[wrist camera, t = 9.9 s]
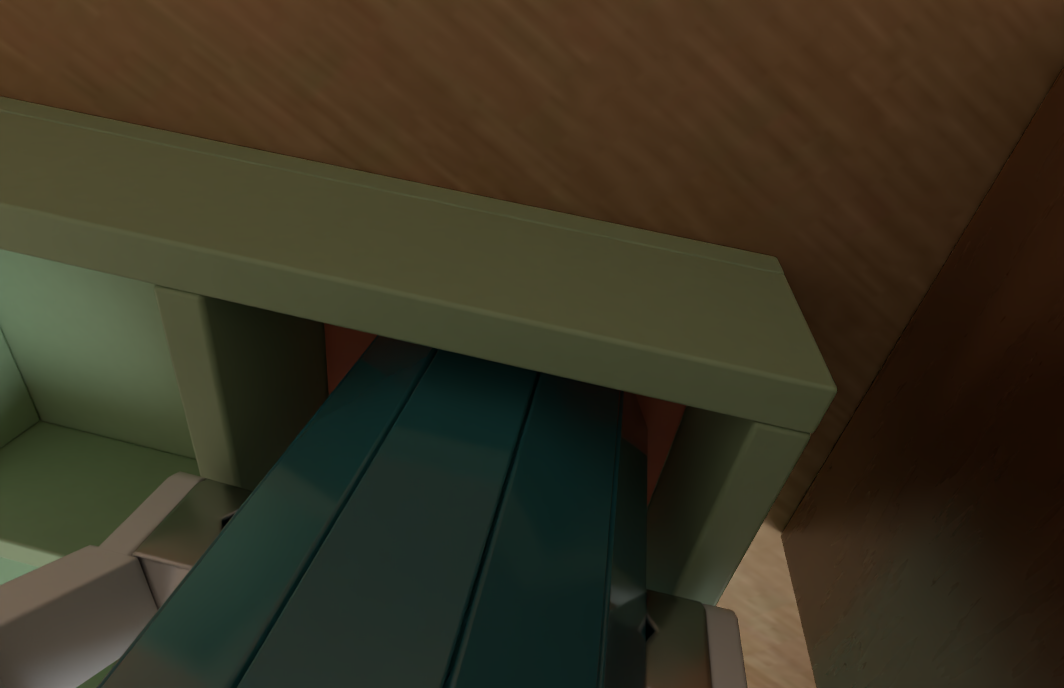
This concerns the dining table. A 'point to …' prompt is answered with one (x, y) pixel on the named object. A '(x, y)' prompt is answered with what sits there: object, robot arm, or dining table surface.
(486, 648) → the cup
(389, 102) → the dining table surface
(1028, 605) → the shelf
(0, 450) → the tray
